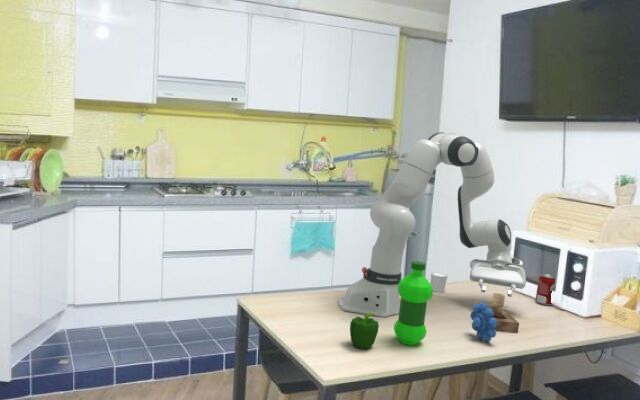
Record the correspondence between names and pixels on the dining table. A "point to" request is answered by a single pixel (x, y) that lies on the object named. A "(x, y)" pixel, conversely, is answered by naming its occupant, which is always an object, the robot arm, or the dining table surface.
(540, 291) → the soda can
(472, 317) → the grapes
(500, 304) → the oak peg
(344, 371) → the dining table surface
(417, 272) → the plastic bottle
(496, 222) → the robot arm
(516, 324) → the wooden tray
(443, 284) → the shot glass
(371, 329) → the bell pepper
